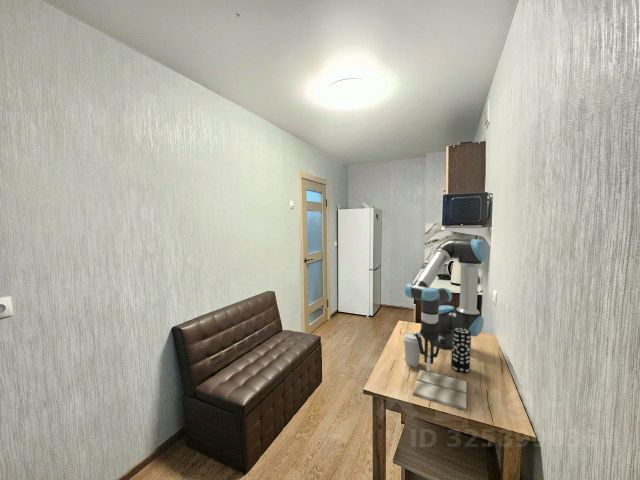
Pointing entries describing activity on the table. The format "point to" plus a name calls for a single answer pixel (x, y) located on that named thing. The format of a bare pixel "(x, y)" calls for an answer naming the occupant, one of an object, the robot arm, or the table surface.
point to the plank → (442, 381)
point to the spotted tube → (461, 350)
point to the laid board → (440, 395)
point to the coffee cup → (411, 349)
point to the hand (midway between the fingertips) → (428, 369)
